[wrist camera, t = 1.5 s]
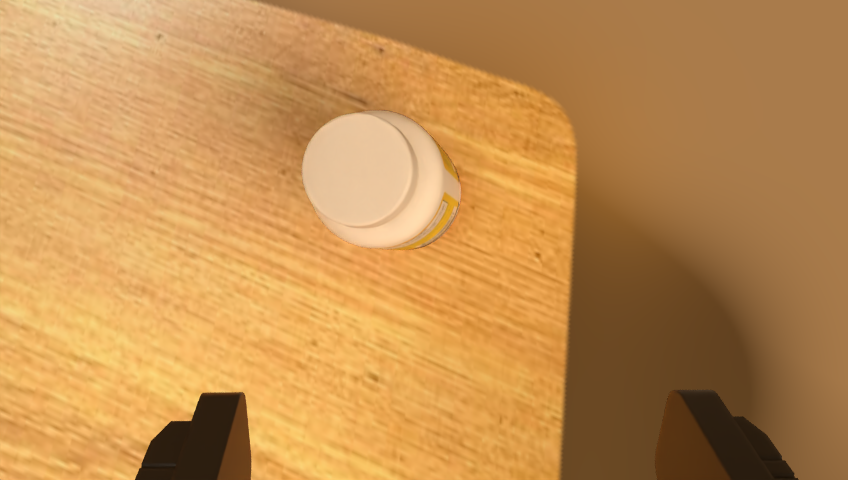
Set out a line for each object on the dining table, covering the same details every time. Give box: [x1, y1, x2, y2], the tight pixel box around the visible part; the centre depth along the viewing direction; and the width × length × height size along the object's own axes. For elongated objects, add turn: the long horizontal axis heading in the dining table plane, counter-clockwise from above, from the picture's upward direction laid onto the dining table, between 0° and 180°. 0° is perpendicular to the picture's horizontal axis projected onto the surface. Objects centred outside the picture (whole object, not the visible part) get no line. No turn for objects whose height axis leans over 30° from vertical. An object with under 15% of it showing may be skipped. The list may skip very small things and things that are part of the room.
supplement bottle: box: [302, 110, 461, 250], centre depth 30 cm, size 5×5×10 cm
